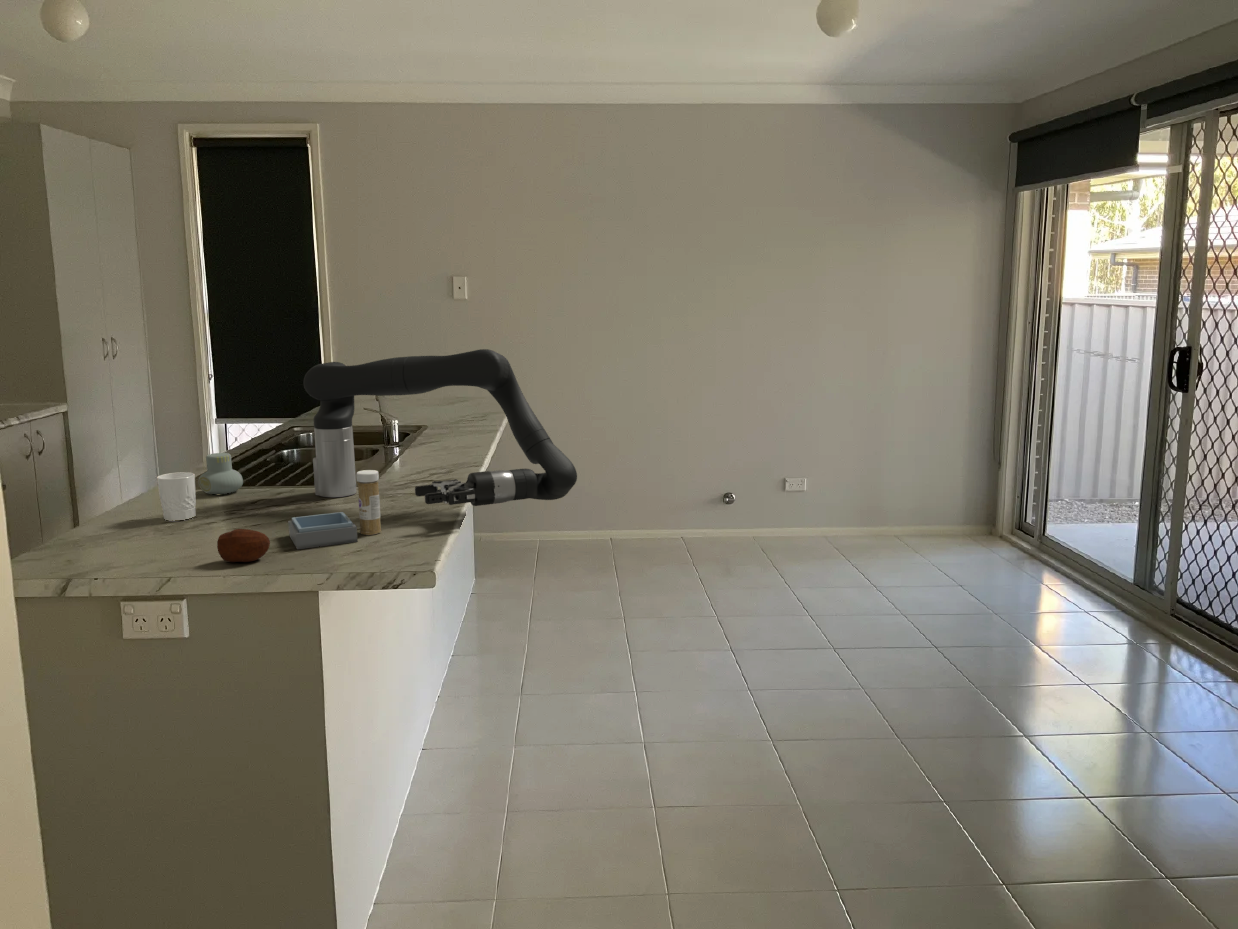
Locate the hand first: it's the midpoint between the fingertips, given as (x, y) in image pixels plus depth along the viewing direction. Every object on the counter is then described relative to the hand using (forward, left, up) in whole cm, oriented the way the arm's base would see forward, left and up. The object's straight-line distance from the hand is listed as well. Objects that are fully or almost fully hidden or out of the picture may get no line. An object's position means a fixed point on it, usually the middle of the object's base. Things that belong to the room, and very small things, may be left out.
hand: (420, 495), depth 210 cm
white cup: (-58, -4, -7) cm, 59 cm away
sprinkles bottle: (-8, -7, -7) cm, 13 cm away
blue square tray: (-16, -13, -7) cm, 22 cm away
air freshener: (-66, +21, -7) cm, 70 cm away
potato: (-22, -31, -7) cm, 39 cm away
